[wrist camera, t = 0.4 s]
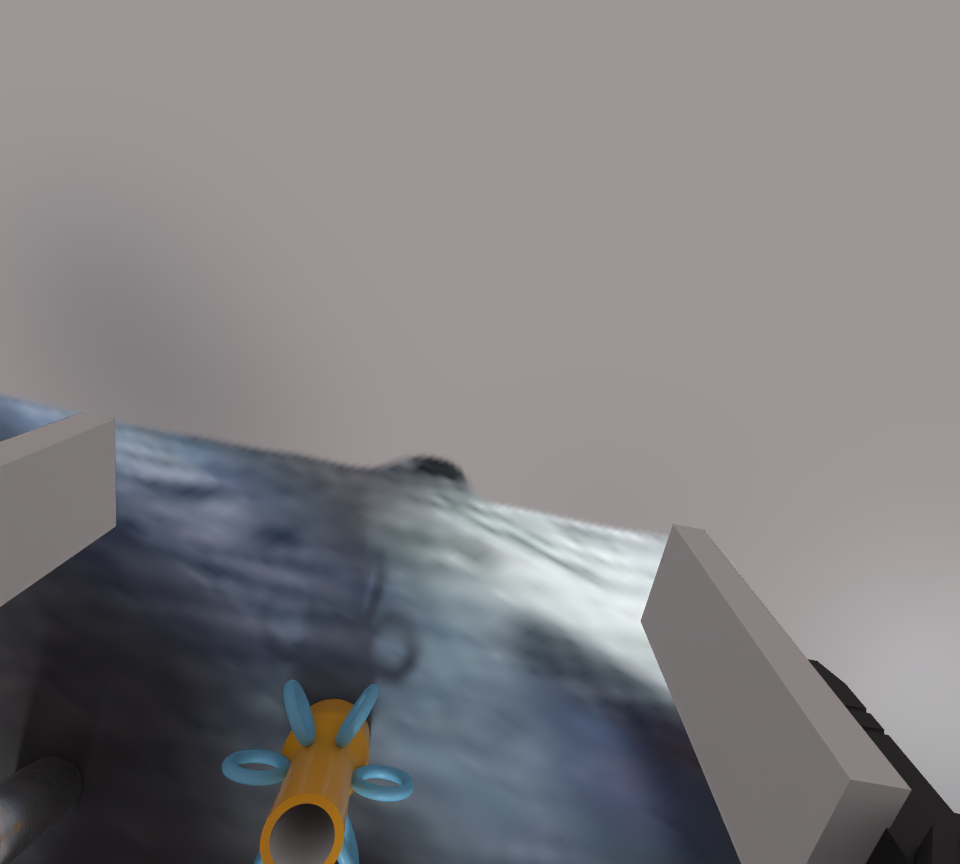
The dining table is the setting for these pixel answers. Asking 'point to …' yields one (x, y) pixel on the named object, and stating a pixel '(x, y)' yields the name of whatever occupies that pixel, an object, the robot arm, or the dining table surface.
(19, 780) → the grey metal peg
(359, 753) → the orange post with rings
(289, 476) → the dining table surface
